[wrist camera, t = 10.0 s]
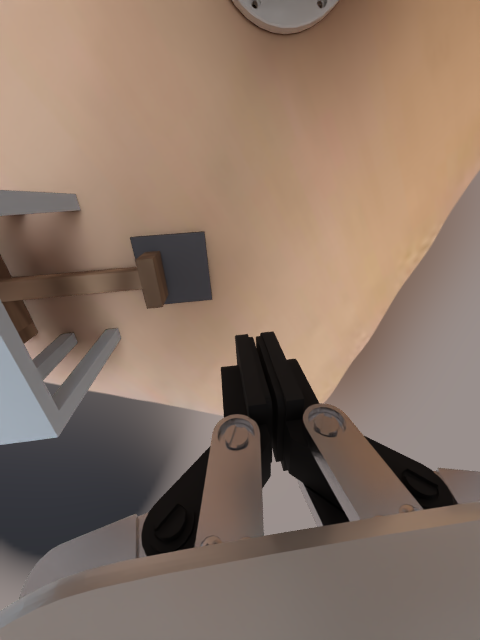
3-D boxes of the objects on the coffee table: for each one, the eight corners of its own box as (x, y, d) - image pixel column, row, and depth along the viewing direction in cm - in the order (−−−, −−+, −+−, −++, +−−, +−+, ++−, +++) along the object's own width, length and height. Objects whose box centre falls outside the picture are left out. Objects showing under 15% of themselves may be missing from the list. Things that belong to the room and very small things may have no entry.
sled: (154, 210, 26) (142, 212, 21) (175, 318, 32) (169, 340, 27) (-158, 231, 24) (-252, 239, 19) (-75, 344, 30) (-131, 372, 25)
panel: (204, 231, 28) (204, 232, 27) (211, 297, 31) (211, 299, 31) (132, 236, 27) (130, 237, 27) (148, 303, 31) (146, 305, 30)
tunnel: (75, 194, 25) (-85, 185, 11) (121, 338, 32) (58, 437, 19) (2, 198, 24) (-259, 195, 11) (65, 343, 32) (-41, 450, 18)
